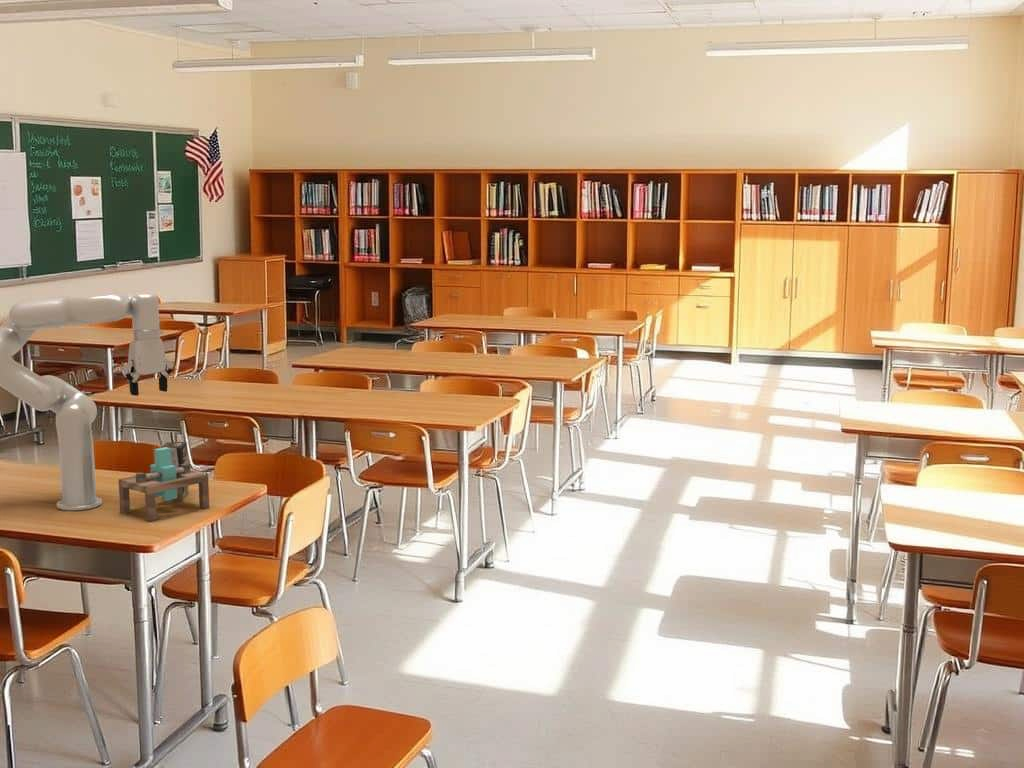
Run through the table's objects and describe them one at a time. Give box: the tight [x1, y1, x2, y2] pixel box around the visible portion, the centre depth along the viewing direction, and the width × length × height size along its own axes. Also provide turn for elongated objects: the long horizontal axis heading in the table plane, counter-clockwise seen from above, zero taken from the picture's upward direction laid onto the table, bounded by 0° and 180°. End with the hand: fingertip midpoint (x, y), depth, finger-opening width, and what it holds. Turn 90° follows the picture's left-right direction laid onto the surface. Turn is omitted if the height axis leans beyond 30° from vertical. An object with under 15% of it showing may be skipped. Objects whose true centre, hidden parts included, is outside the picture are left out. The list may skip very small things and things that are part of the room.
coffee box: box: [160, 441, 190, 500], centre depth 348 cm, size 9×6×16 cm
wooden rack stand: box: [118, 463, 210, 523], centre depth 331 cm, size 15×20×12 cm
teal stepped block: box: [149, 447, 177, 502], centre depth 331 cm, size 7×4×15 cm, turn 51°
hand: (149, 393), depth 336 cm, fingers open, 9 cm apart
